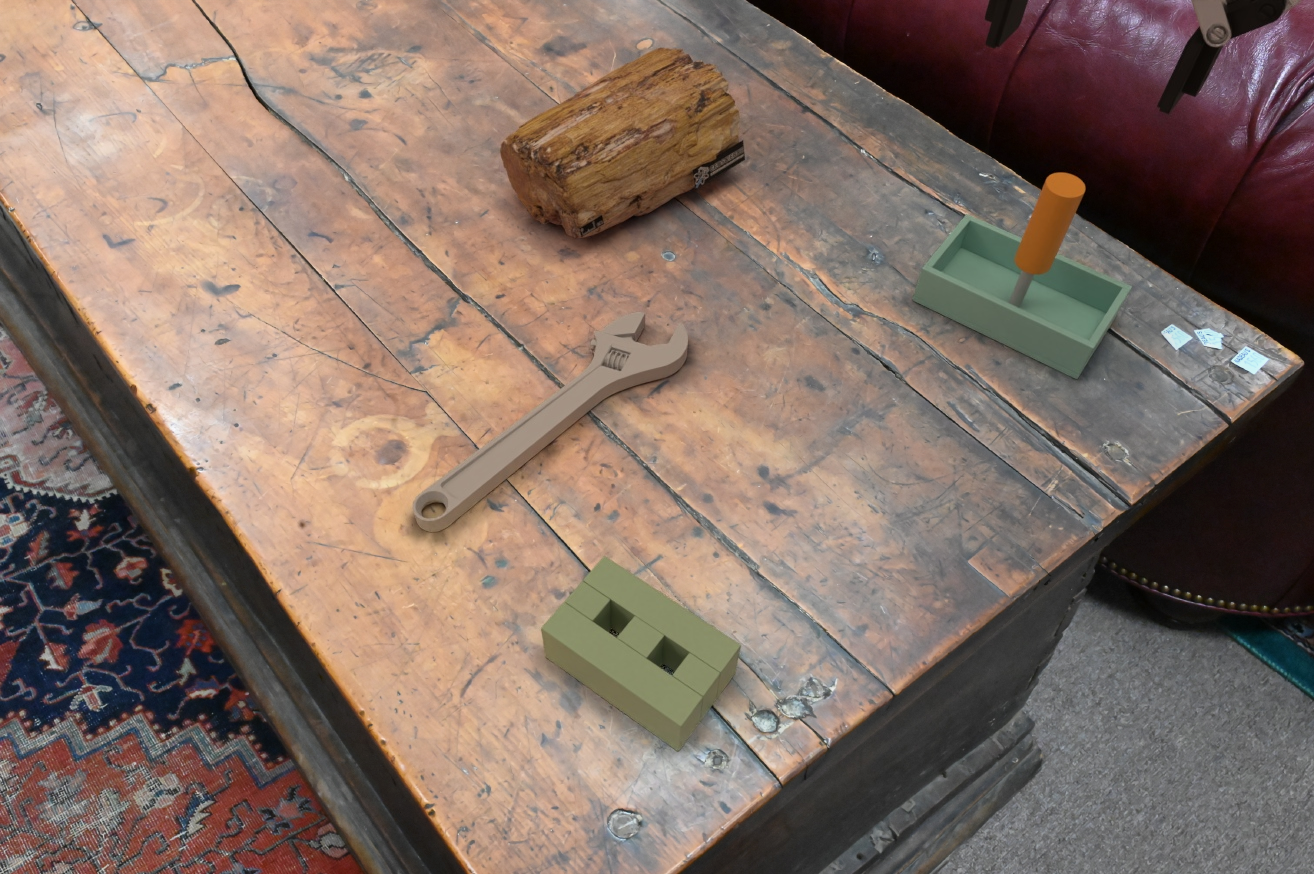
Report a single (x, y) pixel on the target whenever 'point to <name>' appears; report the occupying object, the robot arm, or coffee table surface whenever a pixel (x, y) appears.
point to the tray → (1052, 313)
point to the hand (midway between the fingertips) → (1084, 68)
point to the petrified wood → (625, 143)
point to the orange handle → (1046, 229)
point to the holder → (641, 651)
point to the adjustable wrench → (555, 415)
